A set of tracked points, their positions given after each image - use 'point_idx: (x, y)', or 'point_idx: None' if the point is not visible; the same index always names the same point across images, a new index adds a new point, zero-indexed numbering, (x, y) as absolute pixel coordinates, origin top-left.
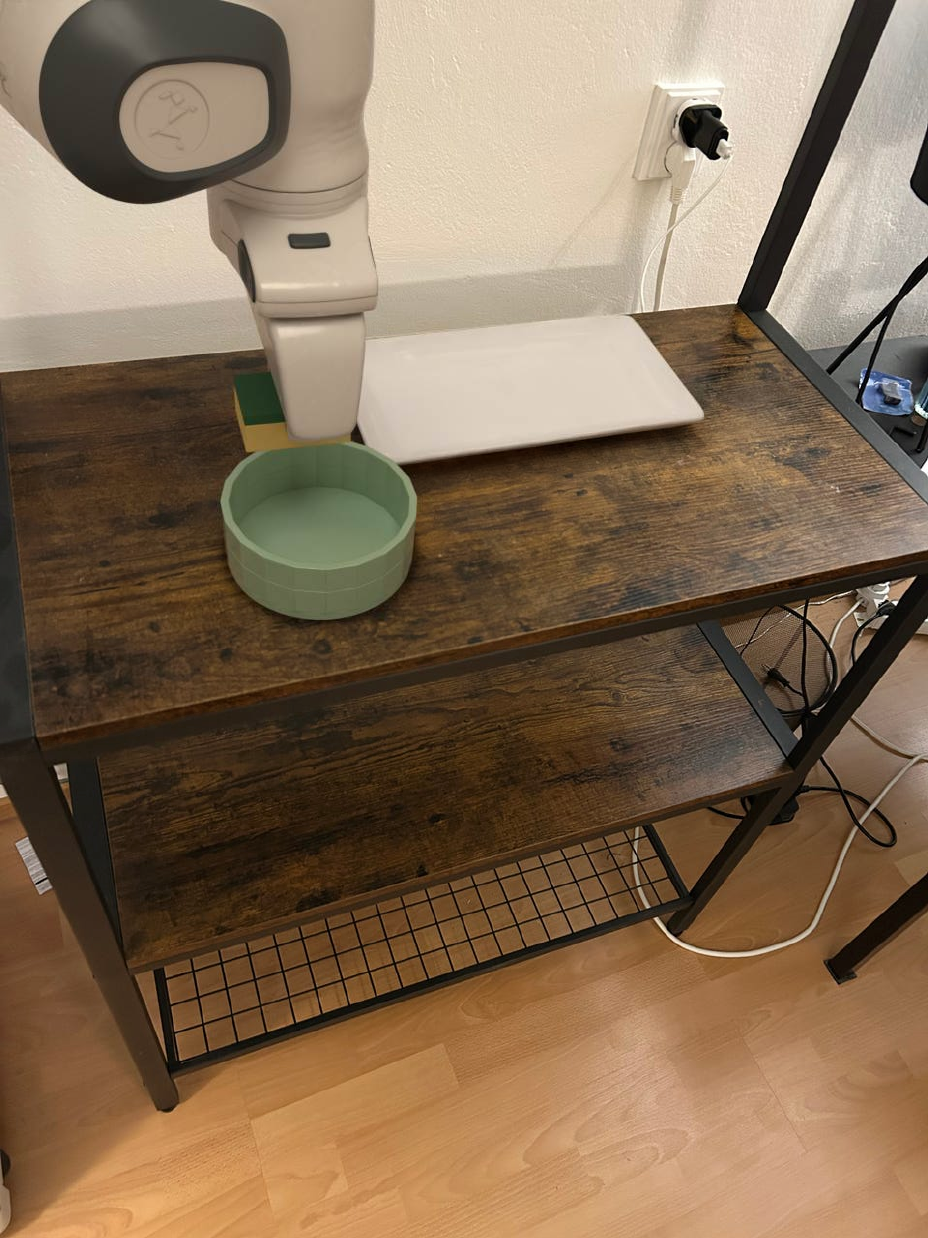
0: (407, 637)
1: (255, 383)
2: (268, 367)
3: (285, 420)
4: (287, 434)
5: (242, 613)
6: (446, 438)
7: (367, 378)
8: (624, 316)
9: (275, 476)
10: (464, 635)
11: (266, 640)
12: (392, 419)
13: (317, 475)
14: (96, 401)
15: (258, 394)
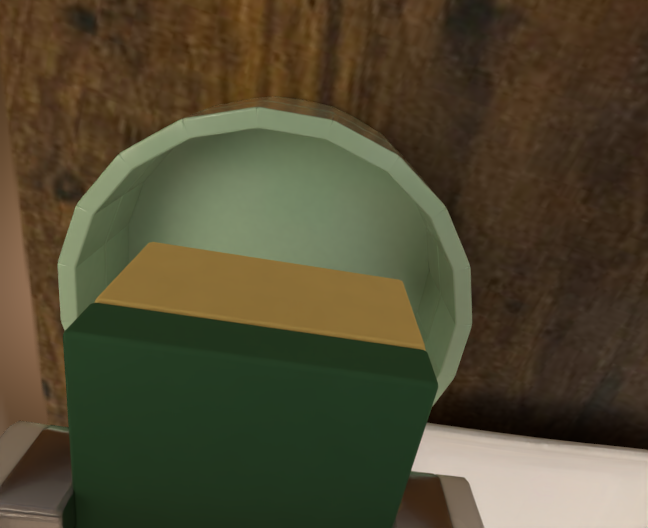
0: None
1: (326, 451)
2: (458, 509)
3: (47, 469)
4: (27, 430)
5: (175, 83)
6: None
7: (621, 476)
8: None
9: (436, 259)
10: (55, 380)
11: (101, 103)
12: (506, 470)
13: (420, 326)
14: None
15: (236, 438)
